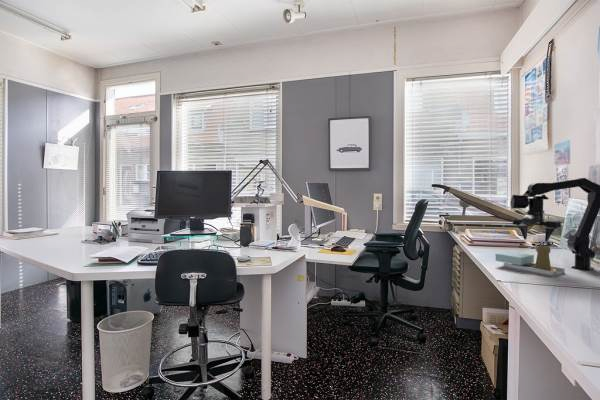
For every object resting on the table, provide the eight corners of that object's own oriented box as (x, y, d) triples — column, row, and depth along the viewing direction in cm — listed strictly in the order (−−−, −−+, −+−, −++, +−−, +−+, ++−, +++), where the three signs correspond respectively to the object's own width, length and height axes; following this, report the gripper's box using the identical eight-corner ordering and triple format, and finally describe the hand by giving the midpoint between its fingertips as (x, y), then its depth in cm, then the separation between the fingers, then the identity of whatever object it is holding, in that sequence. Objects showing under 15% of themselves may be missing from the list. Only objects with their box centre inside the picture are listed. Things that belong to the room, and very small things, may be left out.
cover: (508, 258, 167) (508, 251, 167) (533, 262, 157) (533, 255, 157) (495, 260, 161) (495, 253, 161) (521, 265, 151) (521, 257, 151)
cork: (554, 272, 145) (554, 247, 145) (538, 271, 146) (539, 246, 146) (547, 268, 151) (547, 245, 151) (532, 268, 152) (532, 244, 152)
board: (516, 264, 164) (516, 260, 164) (564, 273, 147) (564, 268, 147) (503, 268, 158) (503, 263, 158) (551, 277, 141) (551, 271, 141)
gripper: (506, 208, 164) (506, 239, 165) (550, 210, 148) (549, 244, 149) (518, 207, 170) (518, 237, 171) (561, 209, 154) (561, 242, 154)
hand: (535, 240), depth 161 cm, fingers open, 9 cm apart
